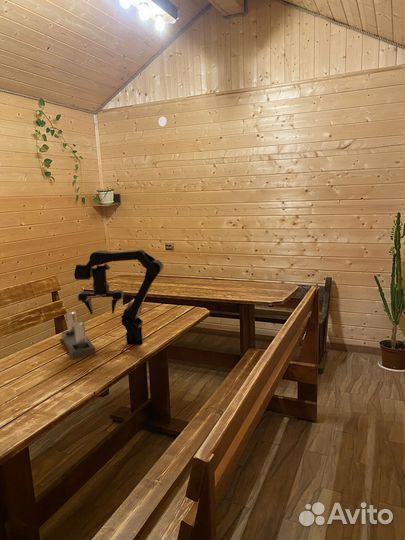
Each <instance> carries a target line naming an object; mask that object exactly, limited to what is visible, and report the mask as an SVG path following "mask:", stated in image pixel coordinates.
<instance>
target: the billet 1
mask: <svg viewBox="0 0 405 540" xmlns="http://www.w3.org/2000/svg"><path fill="white" fill-rule="evenodd" d="M66 319H67V322H66V323H67V329H68V330H67V331H68V332H69V336H75V326H74V324H75V323H76V322H78V319H77V312H76V311H75V310H73V311H68V312H66Z"/></svg>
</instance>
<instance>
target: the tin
mask: <svg viewBox="0 0 405 540" xmlns="http://www.w3.org/2000/svg"><path fill="white" fill-rule="evenodd" d="M134 299H135V298H133V299H131V300H130V301H129V302H128V304H127V306H126V308H127V307H128V306H130V307H131V306H132V303H133V301H134ZM141 311H142V306H141V307H140V311H139V314H140V313H141Z"/></svg>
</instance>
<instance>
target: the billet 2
mask: <svg viewBox="0 0 405 540" xmlns="http://www.w3.org/2000/svg"><path fill="white" fill-rule="evenodd" d="M74 326H75V336H76V346H77V350H78V349H83V348H87V345H86V336H87V335H86V325H85V321H77V322H76V323H75V324H74Z"/></svg>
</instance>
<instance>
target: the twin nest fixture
mask: <svg viewBox="0 0 405 540" xmlns="http://www.w3.org/2000/svg"><path fill="white" fill-rule="evenodd" d="M61 339H62V342H63V344H64V345H65V347H66V349H67V350H68V352H69V355H70V356H71V359H72V360H76V359H81V358H86V357H91V356H95V355H96V348H95V346H94V345H93V343H92V342H91V340H90V339H89V338H88V336H87V335H86V345H87V348H83V349H78V350H77V346H76V336H69V332H68V330H66V331H61Z"/></svg>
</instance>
